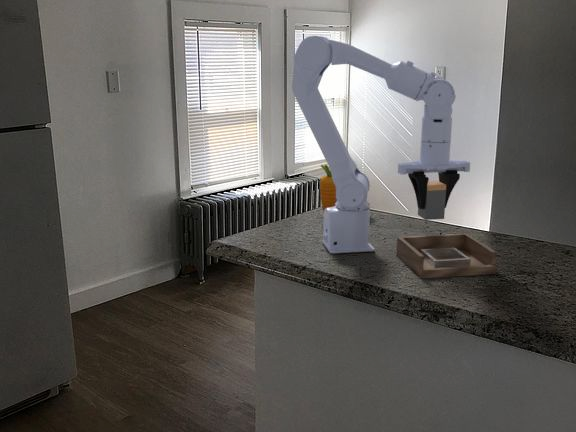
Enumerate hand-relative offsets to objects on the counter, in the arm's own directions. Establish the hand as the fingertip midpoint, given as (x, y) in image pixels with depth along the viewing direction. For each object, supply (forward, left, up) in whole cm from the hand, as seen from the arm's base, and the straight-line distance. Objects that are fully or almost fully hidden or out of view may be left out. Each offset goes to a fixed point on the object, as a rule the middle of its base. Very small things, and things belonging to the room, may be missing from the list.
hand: (431, 207), depth 126 cm
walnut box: (0, -8, -9) cm, 12 cm away
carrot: (-15, +26, -10) cm, 31 cm away
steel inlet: (0, -8, -9) cm, 12 cm away
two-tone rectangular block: (0, 0, -2) cm, 2 cm away
